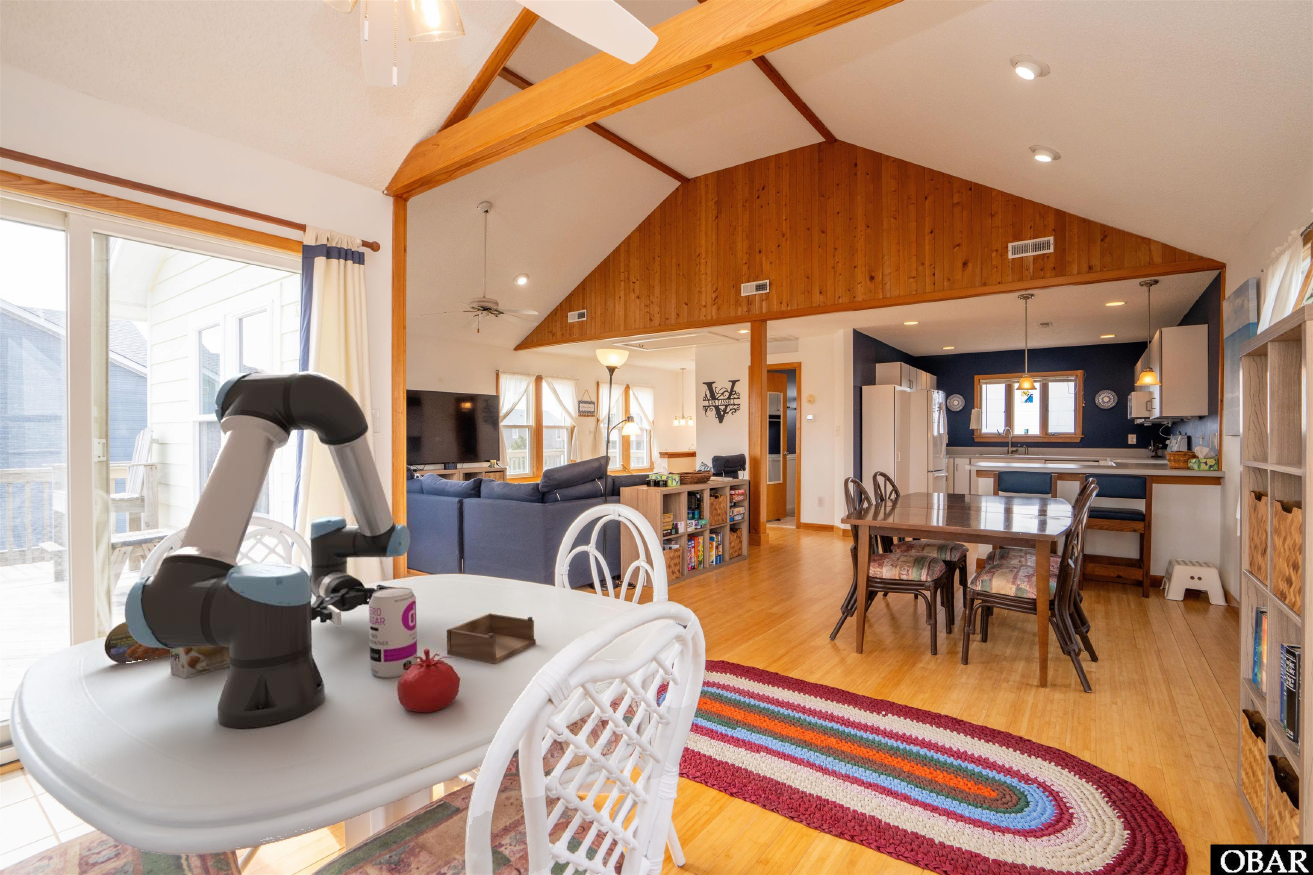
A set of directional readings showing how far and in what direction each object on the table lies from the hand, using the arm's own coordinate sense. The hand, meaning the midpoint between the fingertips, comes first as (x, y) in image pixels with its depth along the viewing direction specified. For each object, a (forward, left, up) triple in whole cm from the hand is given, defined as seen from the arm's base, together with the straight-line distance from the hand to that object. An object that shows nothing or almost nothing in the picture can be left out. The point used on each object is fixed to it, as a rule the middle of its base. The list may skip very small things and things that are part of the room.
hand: (375, 611), depth 127 cm
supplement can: (-3, -9, -9) cm, 14 cm away
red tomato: (-11, -27, -10) cm, 31 cm away
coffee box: (-18, +26, -9) cm, 33 cm away
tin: (-19, +43, -10) cm, 48 cm away
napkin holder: (+14, -18, -9) cm, 24 cm away
